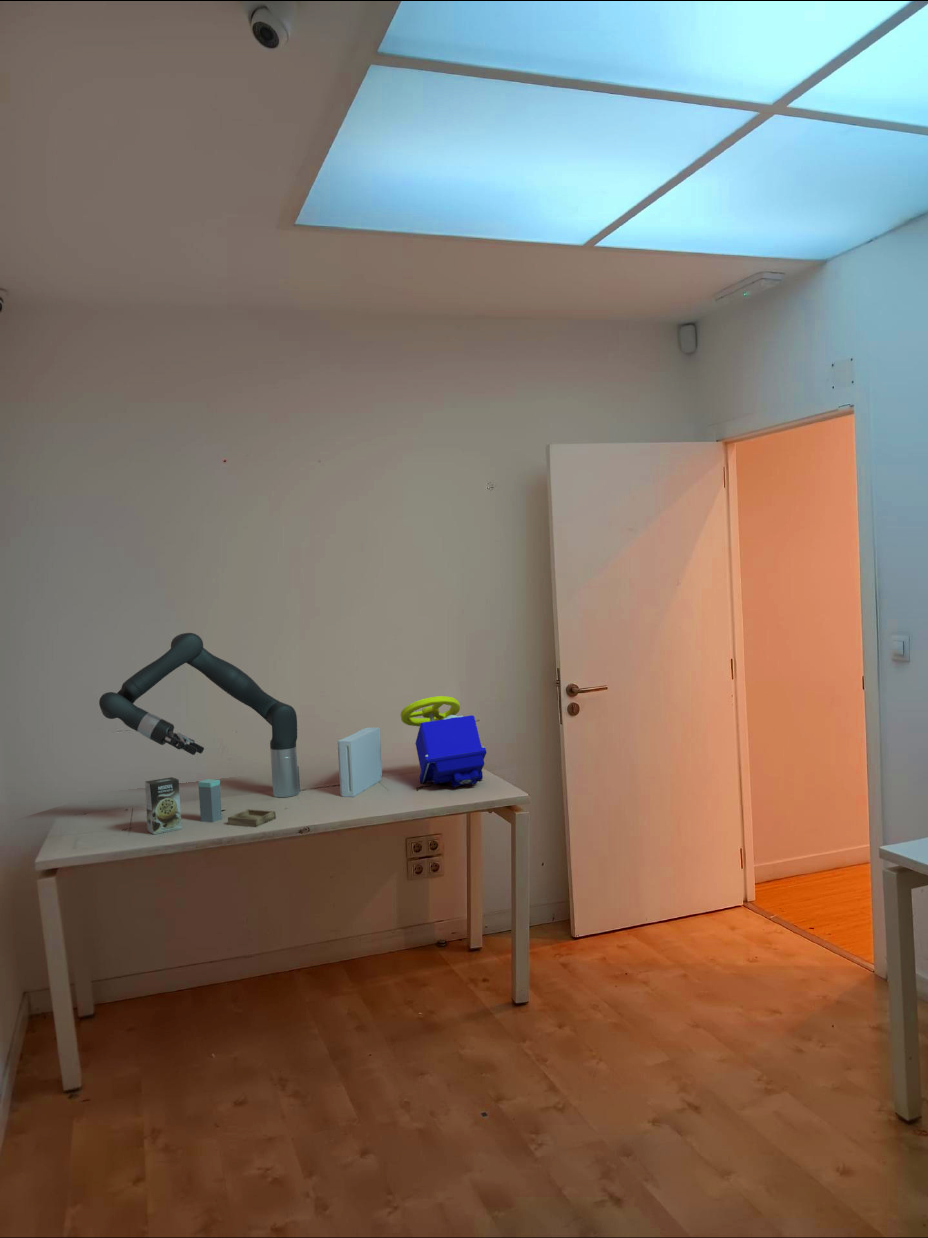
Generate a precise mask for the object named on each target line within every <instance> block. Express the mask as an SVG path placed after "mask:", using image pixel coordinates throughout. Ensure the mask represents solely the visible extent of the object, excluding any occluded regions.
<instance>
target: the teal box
mask: <svg viewBox="0 0 928 1238" xmlns="http://www.w3.org/2000/svg"><path fill="white" fill-rule="evenodd" d="M197 785H198V798H199V811H200V813H199V814H200V816H199V817H200V822H204V823H205V822H206V823H215V822H218V821H220V820H222V818H223V812H222V798H221V780H220V779H212V778H211V779H210V778H207V779H204V780H201V781H198V784H197Z"/></svg>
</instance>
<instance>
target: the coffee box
mask: <svg viewBox="0 0 928 1238" xmlns="http://www.w3.org/2000/svg"><path fill="white" fill-rule="evenodd" d="M144 785H145V788H144V789H145V799H146V800H145V802H146V804H145V805H146V819H147V821H146V822H147V831H148V832H149V833H151V834H152V835H159V834H163V832H164V833H168V832H173V831H177V830H178V831H179V830H182V817H181V799H180V796H181V795H180V779H177V778H176V777H172V776H171V777H165V778H159V779H158V778H157V779H152V780H145V782H144Z"/></svg>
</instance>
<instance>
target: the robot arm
mask: <svg viewBox="0 0 928 1238" xmlns="http://www.w3.org/2000/svg"><path fill="white" fill-rule="evenodd" d="M203 641H204V640H203V638H201V637H200V636H199V635H198V634H196V633H193V632H185V633H180V634H178V635H176V636H175V637H173V639H172V640H171V642H170V649H169V650H167V651H166V652H165V653H164V654H163V655H161V656H159V658H157V659H156V660H154V661H153V662H151V663H149V664H148V665H146V666H144V667H143V668H141V669H139V670H138V671H137V672H135V673H134V674H133V675H132V676H131V677H129V678H128V679H127V680H124V682H123V683H122V685H121V687H120V689H119V691H117V692H114V691H113V692H112V691H109V692H108V691H107V692H105V693H103V694H102V695H101V696H100V698H99V701H98V705H99V707H100V710H101V713H102V715H103V716H104V718H106V719H110V720H114V719H119V720H120V721H122V723H124V725H125V726H127V727H128V728H130V729H132V730H134V731H136V732H137V733H139V734H140V735H142V736H144V737H145V738H147V739H149V740H152V741H153V742H155V743H157V744H158V745H161V746H163V745H165V744H168V745H170V746H172V747H174V748H176V749H177V750H181V751H185V752H187V753H188V754H190V755H192V756H194V755H196V753H198V754H203V752H204V751H205V747H204V746H202V745H200V744H197V743H196V741H195V740H194V739H192V738H191V737H188V736H186V735H183V734H182V733H180V732H174V730H175V725H174V724H173V723H172V722H169V721H167V720H165V719H163V718H161V716H160V717H159V716H158V715H156V714H154V713H151V712H148V711H147V710H145V709H143V708H141V707H138V706H137V705H135V704H134V703H135V702H136V701H137V700H138V699H139V698H141V697H142V696H143V695H145V694H146V693H147V692H148V691H149V690H151V689H152V688H153V687H155V686H156V685H157V684H158V683H160V681H162V680H163V679H164V678H165V677H167V676H168V675H169V674H170V673H172V672H173V671H175V670H177V669H178V668H180V667H181V666H183V665H184V664H187V665H189V666H191V667H193V668H194V669H196V670H197V671H199V672H201V673H202V674H203V675H204V676H205V677H206V678H207V679H208V680H210V681H211V682H212V683H214V685H216V686H217V687H218V688H220V689H221V690H222V691H224V692H225V693H226V694H228V695H230V696H231V698H234V699H235V700H237V701H238V702H240V703H242V704H244V705H246V706H247V707H249V708H250V709H252V710H254V711H255V712H256V713H257V714H258V715H259V716H261V718H263V719H264V720H265V721H266V722H267V723H268V724H269V725H270V726H271V733H272V734H271V740H270V742H269V747H270V761H271V762H270V763H271V781H272V796H273V797H275V798H287V797H290V798H291V797H294V796H297V795H299V793H300V792H301V783H300V782H301V781H300V767H299V766H298V754H297V740H298V718H297V717H298V716H297V712H296V710H295V708H294V707H293V706H292V705H290V704H287V703H285V702H282V701H279V700H278V699H276V698H274V697H273V696H271V695H269V694H268V693H267V692H265V691H264V690H263V689H262V688H261V686H259V684H257V682H256V681H255V680H254V679H253V678H252V677H250V676H249V675H248V674H247V673H245V672H244V671H243V670H241V669H240V668H239V667H237V666H236V665H234V664H232V663H230V662H229V661H226V660H224V659H222V658H220V657H218V656H216V655H214V654H212V653H211V652H210V651H208V650H207V649H206V648H204V642H203Z"/></svg>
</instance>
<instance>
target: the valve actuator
mask: <svg viewBox="0 0 928 1238" xmlns="http://www.w3.org/2000/svg"><path fill="white" fill-rule="evenodd" d="M443 705H447V706H450V708H449V709H448V710H446V711H445V712H440V709H439V708H441V707H442V706H443ZM418 710H419V711H418ZM460 710H461V705H460V701H458V700H457V699H456V698H454V697H452V696H445V695H439V696H437V695H436V696H431V697H426V698H423V699H419V700H416V701H414V702H412V703H410V704H408V705H407V706H405V707H404V708H403V709H402V710H401V713H400V720H401V721H402V723H403V724H405V725H407V726H412V727H419V728H418V731H417V732H418V733H417V737H416V739H415V746H416V747H415V748H416V753H417V758H418V763H419V767H420V775H419V777H418V778H419V779H418V780H419V783H420V784H425V783H429V782H430V781H431V782H433V784H434V785H437V784H439V785H440V784H445V783H449V782H450V783H451V787H452V788H453V789H454V788H457V787H459V786H465V785H471V786H472V785H475V784H477V781H483V778H484V777H483V776H484V775H483V768H484V766H485V757H486V756H487V753H488V752H487V749H486V747H485V746H484V745H482V743H481V739H480V734H479V730H478V726H477V723H476V719H475V718H476V717H475V716H474V715H472V714H470V715H467V716H465V715H464V716H463V714H462V715H461V714H460V715H459V716H458V715H457V714H458V713H459V712H460ZM421 716H422V717H423V718H422V717H421ZM424 782H425V783H424Z"/></svg>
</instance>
